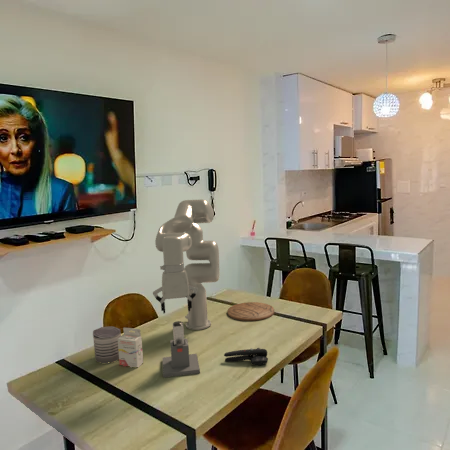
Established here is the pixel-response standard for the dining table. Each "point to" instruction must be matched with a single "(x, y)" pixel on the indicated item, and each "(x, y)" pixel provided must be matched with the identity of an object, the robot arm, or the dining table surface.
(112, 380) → the dining table surface
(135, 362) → the ink cartridge box
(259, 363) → the can opener
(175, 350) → the stand
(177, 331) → the column
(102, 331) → the can
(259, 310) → the trivet
